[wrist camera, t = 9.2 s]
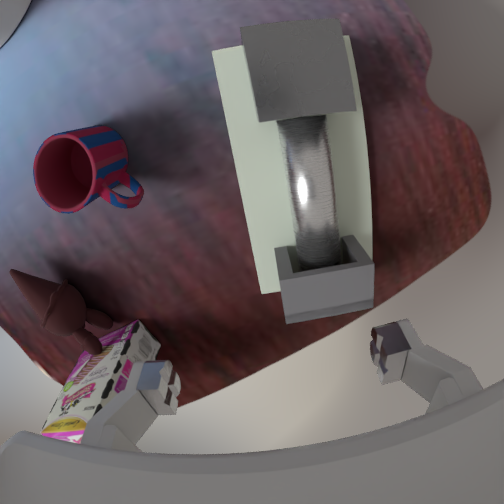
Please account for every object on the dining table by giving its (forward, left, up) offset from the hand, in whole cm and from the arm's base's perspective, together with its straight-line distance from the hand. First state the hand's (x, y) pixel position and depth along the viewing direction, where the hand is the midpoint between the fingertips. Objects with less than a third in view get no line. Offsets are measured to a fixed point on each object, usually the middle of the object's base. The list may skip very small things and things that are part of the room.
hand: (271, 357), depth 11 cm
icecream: (+6, -25, -19) cm, 32 cm away
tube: (0, +5, -18) cm, 19 cm away
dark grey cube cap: (-11, +5, -18) cm, 22 cm away
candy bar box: (+15, -21, -19) cm, 32 cm away
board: (-3, +5, -19) cm, 20 cm away
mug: (-7, -13, -19) cm, 25 cm away
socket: (+6, +5, -18) cm, 20 cm away
